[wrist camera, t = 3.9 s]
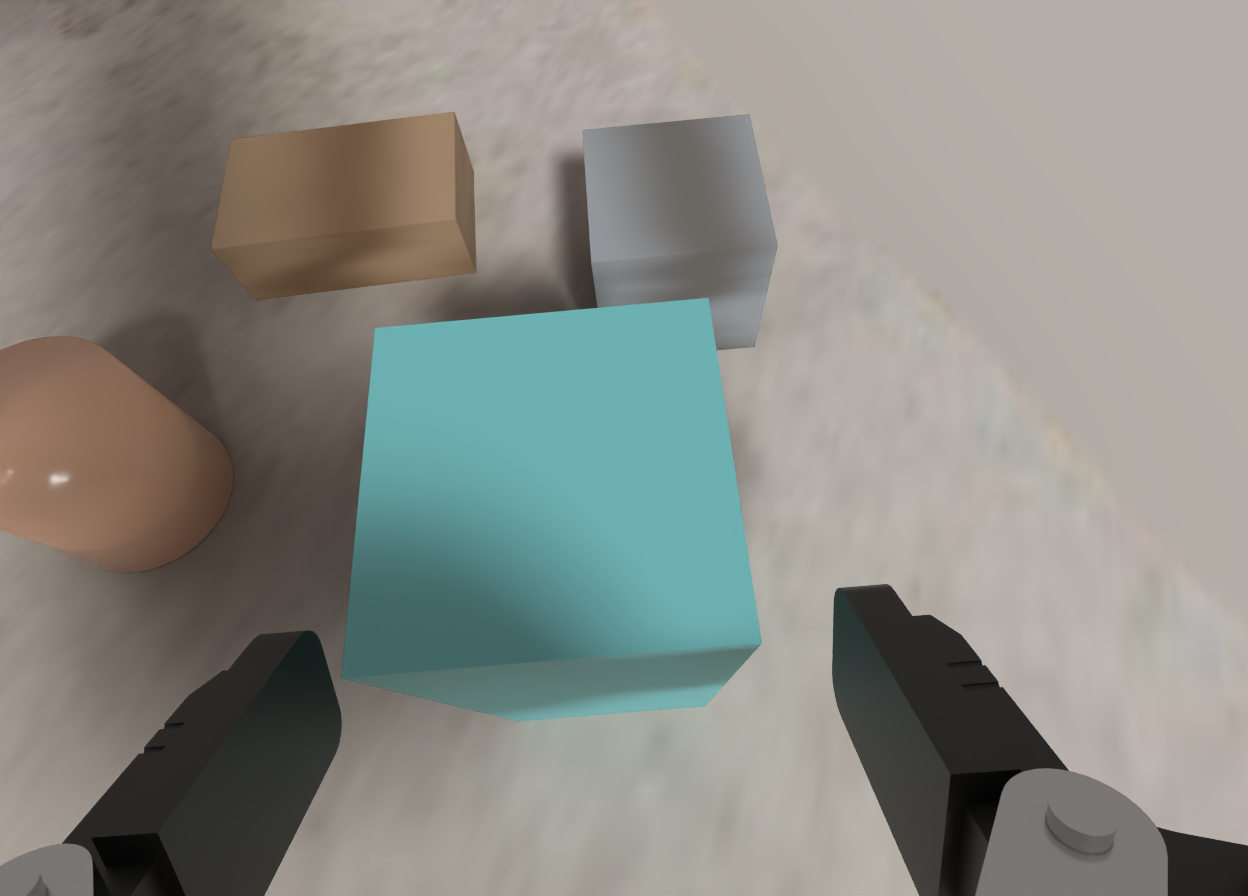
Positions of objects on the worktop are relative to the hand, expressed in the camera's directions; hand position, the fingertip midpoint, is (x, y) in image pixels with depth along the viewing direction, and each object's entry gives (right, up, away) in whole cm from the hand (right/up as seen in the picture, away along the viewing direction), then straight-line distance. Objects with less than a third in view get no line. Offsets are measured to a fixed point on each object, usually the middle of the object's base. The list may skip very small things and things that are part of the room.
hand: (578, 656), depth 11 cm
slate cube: (+2, +9, +13) cm, 16 cm away
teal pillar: (0, -2, +9) cm, 9 cm away
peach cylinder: (-14, +2, +11) cm, 18 cm away
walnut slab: (-9, +11, +15) cm, 21 cm away
